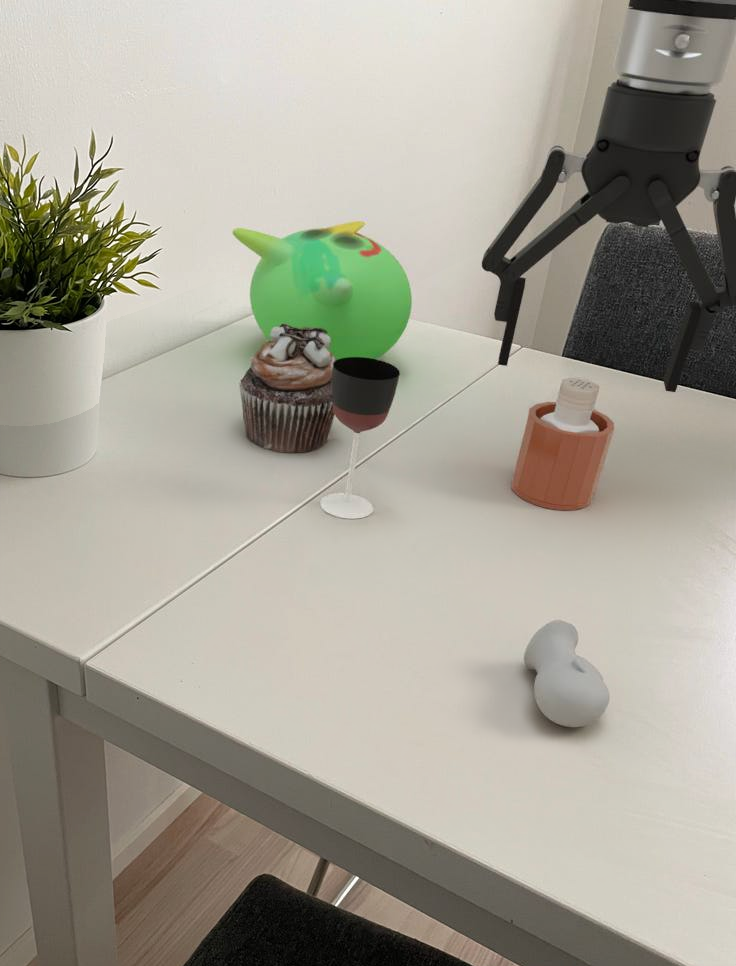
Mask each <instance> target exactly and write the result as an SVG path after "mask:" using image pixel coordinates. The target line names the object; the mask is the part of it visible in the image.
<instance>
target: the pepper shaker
mask: <svg viewBox="0 0 736 966" xmlns="http://www.w3.org/2000/svg"><path fill="white" fill-rule="evenodd" d="M600 388H601V387H600V385H598V384H597V383H596V382H594V381H591V380H589V379H586V378H580V377H567V378H563V379H562V380H561V382H560V387H559V390H558V394H557V398H556V400H555V402H556V407H555V411H554V412H553V413H549V414H546V415H544V416H542V417H541V418H540V420H541V421H542V422H544V423H546V424H548V425H549V426H551V427H554V428H557V429H561V430H564V431H569V432H575V433H596V432H599V428H598V426H597V425H596V424H595V423H594V422H593V421H591V420H590V417H591V414H592V411H593V410H595V405H596V401H597V398H598V395H599V391H600Z"/></svg>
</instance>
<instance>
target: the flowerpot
mask: <svg viewBox="0 0 736 966" xmlns="http://www.w3.org/2000/svg"><path fill="white" fill-rule="evenodd" d="M555 407H556V401H545V402H540V403H536V404H533V405H532V406H531V407H529V409H528V411H527V415H526V420H525V423H524V428H523V433H522V436H521V440H520V445H519V449H518V453H517V455H516V456H517V457H516V460H515V465H514V468H513V472H512V478H511V481H510V487H511V489H512V491H513V493H515V494H516V495H517V496H518V497H519V498H521V499H522V500H524V501H526V502H528V503H530V504H533V505H535V506H538V507H542V508H545V509H550V510H556V511H577V510H580V509H584V508H587V507H588V506H589V505H590V504H591V503H592V501H593V498H594V497H595V494H596V491H597V487H598V484H599V481H600V477H601V474H602V471H603V467H604V464H605V461H606V458H607V454H608V452H609V449H610V445H611V442H612V438H613V435H614V431H615V422H614V421H613V420H612V419H611V418H610V417H609V416H608V415H606V414H604V413H603V412H600V411H598V410H596V409H594V410H593V411H592V414H591V417H590V420H591V421H593V422H594V423H595V424H596V425H597V426H598V428H599V432H596V433H575V432H569V431H564V430H561V429H557V428H554V427H551V426H549V425H548V424H546V423H544V422H542V421H541V420H540V418H541V417H542V416H544V415H546V414H549V413H553V412H554V411H555Z"/></svg>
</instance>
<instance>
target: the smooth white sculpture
mask: <svg viewBox="0 0 736 966" xmlns="http://www.w3.org/2000/svg"><path fill="white" fill-rule="evenodd" d="M578 643H579V632H578V630H577V628H576V627H575V625H573V624H572V623H570V622H567V621H565V620H561V619H555V620H552V621H549V622H547V623H545V625H543V626H542V627H540V628H539V629H538V630H537V631H536V632H535V633H534V634H533V635H532V637H531V639H530V640H529V642H528V644H527V645H526V648H525V651H524V654H523V655H524V656H523V663H524V665H525V667H526V668H527V669H529V670H531V671H536V673H537V674H536V676H535V680H534V686H533V690H534V691H533V692H534V698H535V702H536V704H537V707H538V708H539V710H540V712H542V714H543V715H544V716H545V717H546V718H547V719H548V720H550V721H551V722H553V723H554V724H557V725H560V726H562V727H566V728H582V727H587V726H589V725H591V724H593V723H594V722H596V721H597V720H598V719H599V718H600V717H601V716H602V715H603V714H604V713H605V712H606V710H607V708H608V706H609V702H610V691H609V688H608V686H607V684H606V683H605V682H604V678H603V675H602V673H601V672H600V671H599V669H598V668H596V667H595V666H594V664H592V663H591V662H590V661H588V660H587V658H584V657H583V656H581V655H578V654H576V648H577V646H578Z"/></svg>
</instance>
